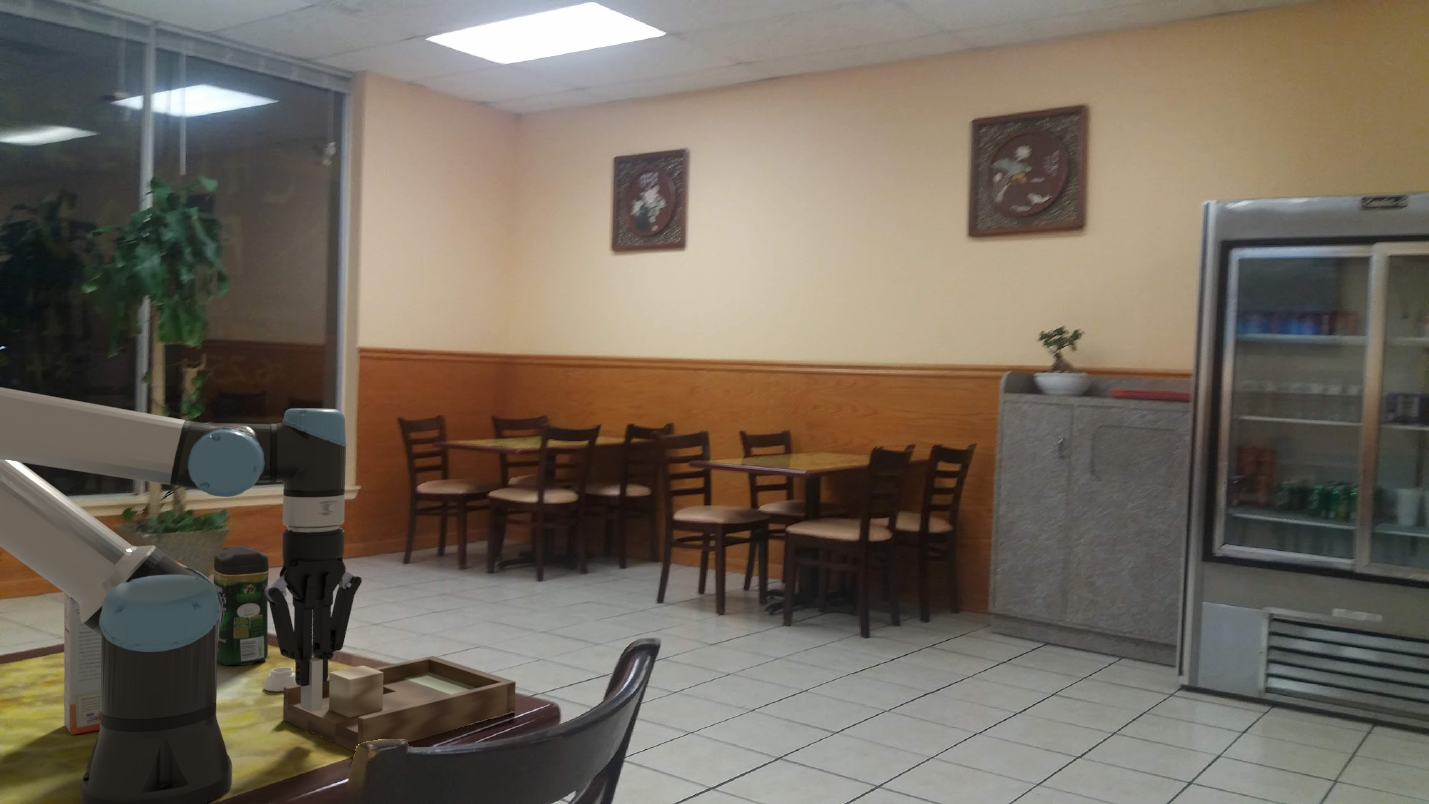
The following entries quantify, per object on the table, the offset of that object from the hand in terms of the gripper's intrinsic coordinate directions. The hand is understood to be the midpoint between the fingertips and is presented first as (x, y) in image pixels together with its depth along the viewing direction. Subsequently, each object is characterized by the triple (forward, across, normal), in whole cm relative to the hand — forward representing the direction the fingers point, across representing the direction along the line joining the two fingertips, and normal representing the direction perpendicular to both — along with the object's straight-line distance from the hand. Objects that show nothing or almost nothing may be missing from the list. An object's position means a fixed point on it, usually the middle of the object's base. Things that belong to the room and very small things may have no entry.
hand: (311, 708), depth 140 cm
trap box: (+4, +12, 0) cm, 13 cm away
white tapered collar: (+4, +9, +24) cm, 26 cm away
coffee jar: (+4, +12, +45) cm, 46 cm away
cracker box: (+4, -14, +24) cm, 28 cm away
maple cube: (+2, +6, 0) cm, 7 cm away
